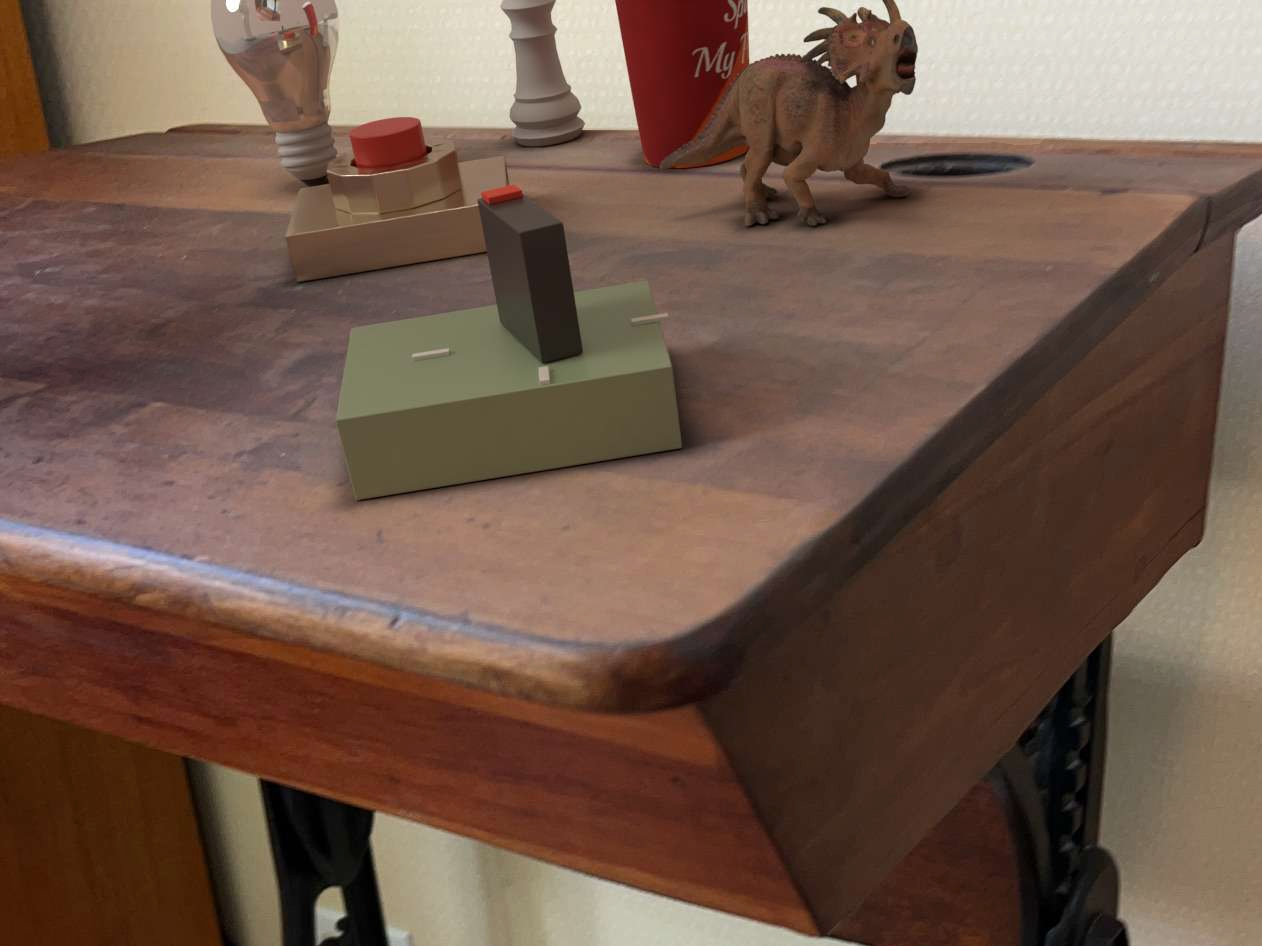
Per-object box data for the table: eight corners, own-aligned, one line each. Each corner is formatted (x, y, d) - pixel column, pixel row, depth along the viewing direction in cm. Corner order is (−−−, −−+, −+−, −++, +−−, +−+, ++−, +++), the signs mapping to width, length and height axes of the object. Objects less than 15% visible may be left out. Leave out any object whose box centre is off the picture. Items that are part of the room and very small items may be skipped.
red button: (355, 179, 81) (346, 141, 80) (359, 161, 84) (351, 124, 83) (427, 167, 81) (419, 129, 80) (428, 150, 84) (421, 112, 83)
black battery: (583, 353, 60) (561, 214, 56) (542, 364, 59) (518, 225, 56) (539, 313, 64) (516, 182, 61) (499, 323, 63) (475, 191, 60)
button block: (297, 282, 82) (274, 196, 79) (310, 231, 88) (290, 151, 86) (515, 247, 81) (500, 160, 79) (512, 199, 88) (498, 117, 86)
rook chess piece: (572, 122, 100) (550, -29, 95) (596, 136, 97) (574, -21, 92) (503, 138, 99) (476, -14, 94) (524, 152, 96) (498, -5, 91)
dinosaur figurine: (963, 191, 79) (962, -31, 73) (920, 230, 75) (915, -1, 69) (710, 189, 85) (689, -17, 79) (658, 225, 81) (632, 12, 75)
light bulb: (392, 177, 95) (340, -65, 88) (282, 209, 93) (218, -37, 85) (346, 159, 100) (292, -71, 92) (240, 189, 98) (176, -45, 90)
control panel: (355, 500, 60) (333, 415, 58) (368, 401, 67) (349, 323, 65) (691, 447, 59) (681, 359, 57) (666, 354, 67) (656, 274, 65)
